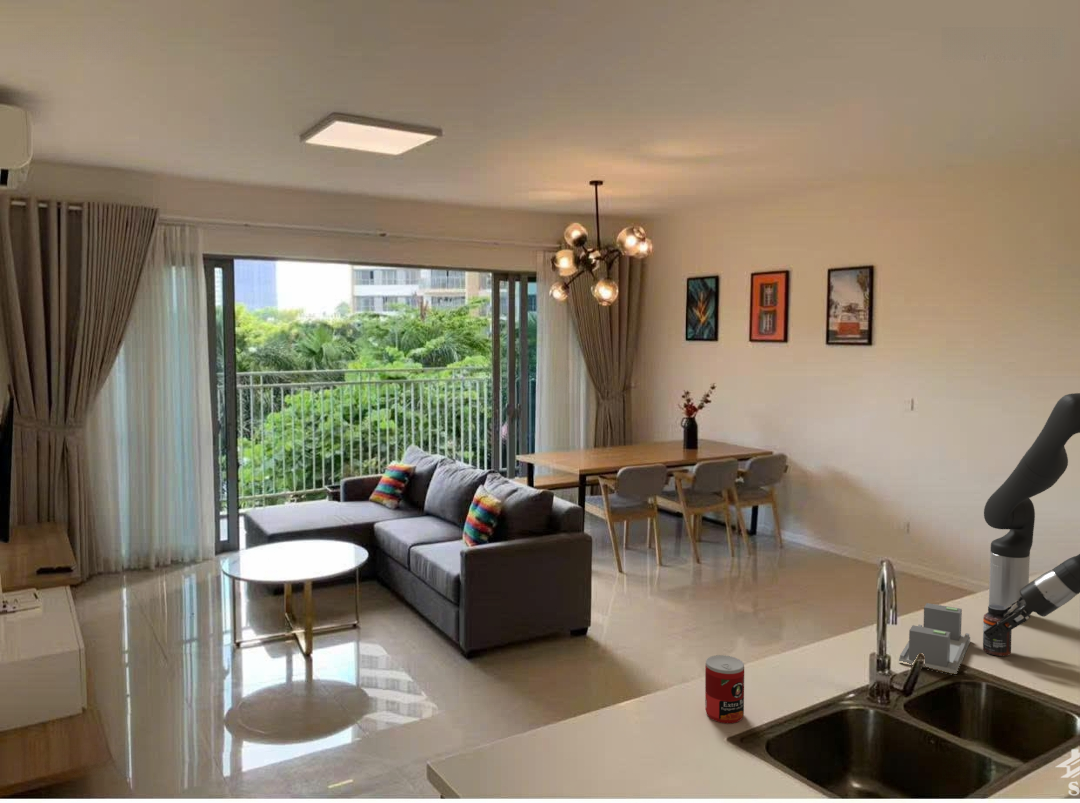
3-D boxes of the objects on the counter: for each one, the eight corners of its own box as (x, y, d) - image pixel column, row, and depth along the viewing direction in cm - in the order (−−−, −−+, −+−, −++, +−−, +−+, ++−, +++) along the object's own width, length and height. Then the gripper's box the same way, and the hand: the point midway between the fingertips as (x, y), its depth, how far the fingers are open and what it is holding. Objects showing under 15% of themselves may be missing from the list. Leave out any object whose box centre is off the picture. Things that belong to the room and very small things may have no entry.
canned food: (722, 727, 154) (723, 673, 153) (697, 711, 161) (697, 659, 160) (752, 718, 157) (753, 665, 156) (725, 702, 164) (726, 652, 163)
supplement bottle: (1003, 647, 192) (1005, 602, 191) (1015, 657, 186) (1017, 611, 185) (978, 647, 192) (979, 602, 191) (989, 656, 186) (991, 610, 185)
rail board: (917, 631, 203) (918, 599, 202) (970, 641, 196) (971, 608, 195) (898, 663, 183) (899, 627, 183) (956, 675, 176) (957, 638, 176)
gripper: (1037, 571, 189) (979, 610, 197) (1033, 587, 177) (972, 627, 185) (1062, 597, 186) (1003, 635, 194) (1060, 614, 175) (997, 654, 182)
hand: (988, 631), depth 190 cm, fingers closed on supplement bottle, 6 cm apart
